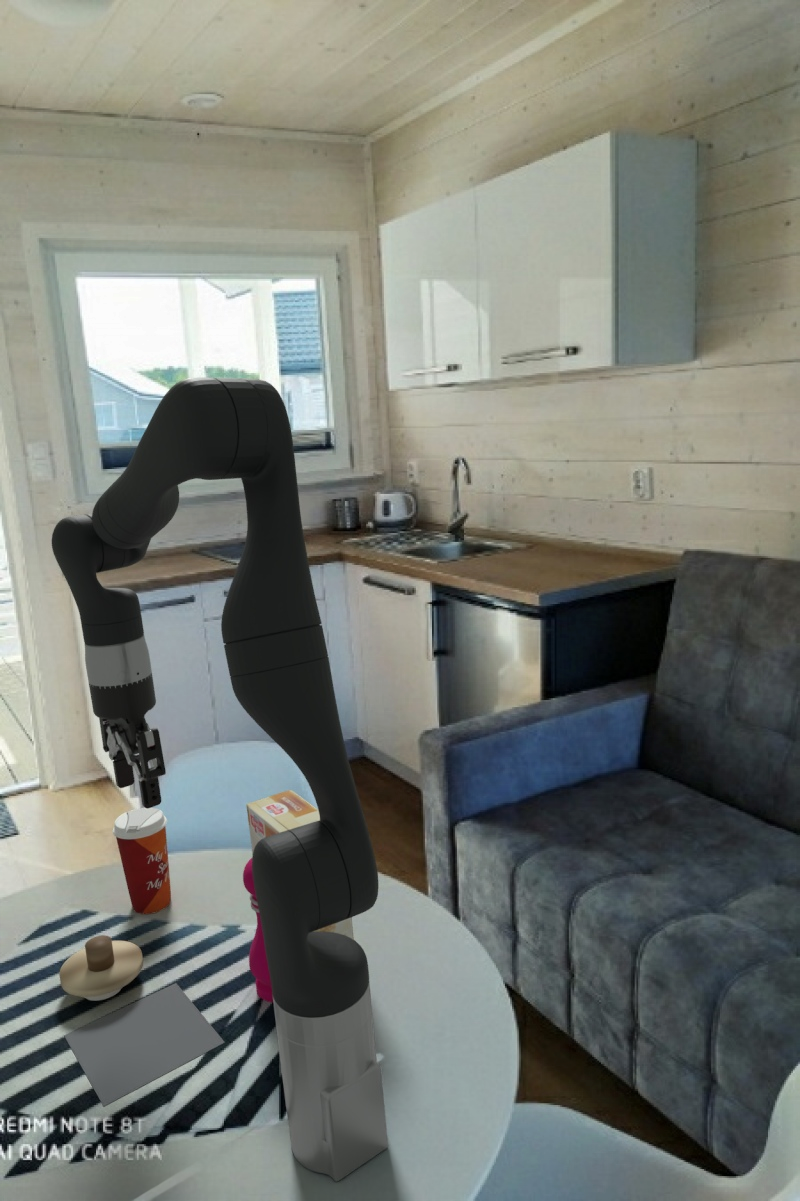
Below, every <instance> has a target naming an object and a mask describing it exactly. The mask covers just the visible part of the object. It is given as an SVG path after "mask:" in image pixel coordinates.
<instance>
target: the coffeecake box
mask: <svg viewBox="0 0 800 1201" xmlns="http://www.w3.org/2000/svg"><path fill="white" fill-rule="evenodd" d="M245 807H246V811H247V812H246V813H247V820H248V828H249V829H248V830H249V837H250V844H251V846H250V847H251V852H252V856H253V851H254V848H255V846H256V844H257V843H258V842H259V841H260V840H261V839H263V838H265V837H268V836H271V835H274V834H277V833H280V832H283V831H287V830H290V829H293V828H296V827H300V826H303V825H306V824H309V823H313V822H317V821H319V820H320V815H319V810H318V807H315V806H314V805H312V804H311V803H310V802H308V801H307V800H306V799H304V798H303V797H302V796H300V795H299V794H297V793H296V792H295V791H293V790H291V789H290V790H285V791H281V792H278V793H276V794H273V795H270V796H268V797H263V798H262V799H261V798H260V799H258V800H255V801H251V802H248V803H246V806H245ZM316 931H324V932H334V933H338V934H342V935H345V936H348V937H350V938H351V939H353V940H355V939H354V938H355V936H354V927H353V917H351V918H348V919H345V920H343V921H340V922H337V923H335V924H332V925H329V926H327V927H324V928H321V929H318V930H316Z"/></svg>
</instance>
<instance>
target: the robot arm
mask: <svg viewBox="0 0 800 1201" xmlns="http://www.w3.org/2000/svg"><path fill="white" fill-rule="evenodd" d="M195 479H199V480H206V481H215V480H217V481H218V480H233V479H234V480H235V479H241V482H242V486H243V491H244V496H245V502H246V503H245V505H246V507H245V508H246V518H247V520H246V521H247V525H246V527H247V531H246V538H245V543H244V548H243V550H242V553H241V556H240V558H239V562H238V564H237V566H236V567H237V568H236V570H235V573H234V576H233V578H232V581H231V584H230V585H229V586H230V587H229V589H228V593H227V595H226V598H225V602H224V606H223V609H222V614H221V623H220V626H221V635H222V643H223V644H224V645H223V648H224V653H225V657H226V658H225V659H226V662H227V667H228V672H229V677H230V682H231V687H232V691H233V694H234V696H235V697H236V698H235V699H237V701H238V702H239V704H240V705H241V707H242V709H244V711H245V712H246V714H248V715H249V717H250V718H251V719H252V720H253V721H254V722H255V723H256V724H257V725H258V727H260V728H261V730H263V731H264V733H266V735H267V736H269V737H270V739H272V740H273V741H274V742H275V743H276V745H278V746H279V747H280V748H281V749H282V750H283V751H284V752H285V754H287V755H288V757H290V759H291V760H292V762H294V764H295V766H296V767H297V768H298V769H299V771H300V772H301V773H302V775H303V776H304V778H305V779H306V783H307V784H308V786H309V787H310V790H311V792H312V795H313V797H314V800H315V803H316V806H317V809H318V810H319V815H320V820H319V821H317V822H313V823H309V824H306V825H303V826H300V827H296V828H293V829H290V830H287V831H283V832H280V833H277V834H274V835H271V836H268V837H265V838H263V839H261V840H260V841H259V842H258V843H257V844H256V846H255V848H254V851H253V855H252V856H251V858H252V874H253V881H254V888H255V893H256V898H257V903H258V908H259V914H260V919H261V925H262V930H263V937H264V944H265V951H266V957H267V963H268V968H269V973H270V979H271V986H272V994H273V1002H272V1003H273V1011H274V1018H275V1026H276V1034H277V1035H276V1036H277V1044H278V1053H279V1060H280V1069H281V1075H282V1084H283V1085H282V1086H283V1093H284V1100H285V1107H286V1108H285V1110H286V1116H287V1117H286V1118H287V1124H288V1130H289V1131H288V1132H289V1140H290V1147H291V1151H292V1153H293V1155H294V1157H295V1159H296V1160H297V1162H299V1164H301V1165H302V1166H303V1167H304V1168H306V1169H307V1170H309V1171H312V1172H315V1173H319V1174H324V1175H328V1176H329V1177H331V1179H333V1181H334V1182H338V1181H341V1180H342V1179H344V1178H345V1177H347V1176H348V1175H349V1174H351V1173H352V1172H354V1171H356V1170H357V1169H358V1168H359V1167H361V1166H363V1165H364V1164H365V1163H367V1162H368V1161H370V1160H371V1159H373V1158H374V1157H376V1156H378V1154H380V1153H382V1152H383V1151H384V1150H386V1149H388V1147H389V1141H388V1129H387V1119H386V1107H385V1096H384V1095H385V1094H384V1085H383V1075H382V1066H381V1064H379V1062H378V1060H377V1050H376V1041H375V1029H374V1018H373V1007H372V1006H373V1005H372V997H371V996H372V995H371V994H372V993H371V984H370V974H369V973H370V972H369V970H370V969H369V963H368V958H367V954H366V953H365V951H364V948H363V947H362V945H360V944H359V943H358V942H357V940H355V939H354V940H353V939H351V938H350V937H348V936H345V935H342V934H338V933H334V932H324V931H316V930H318V929H321V928H324V927H327V926H329V925H332V924H335V923H337V922H340V921H343V920H345V919H348V918H351V917H352V918H353V917H356V916H358V915H361V914H364V913H365V912H367V911H369V910H370V909H372V908H373V907H374V906H375V904H376V902H377V899H378V897H379V896H378V895H379V872H378V867H377V862H376V856H375V852H374V849H373V844H372V839H371V836H370V832H369V829H368V826H367V825H368V824H367V822H366V818H365V814H364V811H363V808H362V803H361V801H360V797H359V793H358V790H357V786H356V783H355V779H354V775H353V772H352V768H351V765H350V761H349V758H348V757H349V756H348V753H347V748H346V745H345V740H344V734H343V731H342V726H341V721H340V715H339V710H338V705H337V699H336V694H335V689H334V683H333V678H332V677H333V676H332V670H331V663H330V658H329V653H328V649H327V648H328V647H327V644H326V643H327V642H326V638H325V632H324V629H323V625H322V619H321V614H320V611H319V607H318V603H317V598H316V594H315V590H314V584H313V580H312V574H311V570H310V564H309V558H308V552H307V548H306V540H305V534H304V530H303V522H302V514H301V505H300V497H299V488H298V486H299V485H298V476H297V467H296V457H295V450H294V442H293V435H292V428H291V423H290V419H289V415H288V412H287V408H286V405H285V403H284V401H283V398H282V396H281V394H280V393H279V391H278V390H277V389H276V388H275V386H273V384H271V383H269V381H266V380H262V379H257V378H242V377H241V378H238V377H210V376H209V377H208V376H207V377H206V376H205V377H203V376H202V377H201V376H198V377H189V378H185V379H182V380H180V381H177V382H176V383H175V384H174V385H172V386H171V387H170V388H169V389H168V391H167V392H166V393H165V394H164V396H163V397H162V399H161V400H160V402H159V403H158V405H157V407H156V408H155V411H154V412H153V414H152V417H151V418H150V420H149V423H148V425H147V427H146V429H145V430H144V432H143V434H142V436H141V438H140V440H139V442H138V445H137V447H136V448H135V450H134V452H133V455H132V456H131V459H130V461H129V463H128V464H127V466H126V468H125V469H124V471H123V472H122V473H121V474H120V476H119V477H117V478H116V479H115V480H114V482H113V483H112V484H111V485H110V486H109V487H108V488H107V489H106V490H105V491H104V492H103V493H102V494H101V496H100V497H99V498H98V500H97V501H96V502H95V505H94V506H93V509H92V512H90V513H85V514H79V515H78V514H77V515H71V516H67V517H64V518H61V519H60V520H59V521H58V522H57V523H56V524H55V526H54V529H53V531H52V534H51V548H52V552H53V556H54V558H55V560H56V562H57V565H58V566H59V569H60V571H61V572H62V574H63V576H64V578H65V581H66V582H67V584H68V587H69V589H70V592H71V594H72V597H73V599H74V601H75V604H76V607H77V610H78V614H79V619H80V624H81V630H82V631H81V632H82V636H83V642H84V662H85V669H86V675H87V680H88V687H89V692H90V700H91V705H92V706H91V707H92V712H93V715H94V716H95V717H97V718H98V719H99V720H98V721H99V725H100V726H99V727H100V734H101V739H102V740H101V741H102V749H103V752H105V753H108V757H109V759H110V761H112V766H113V770H114V771H113V772H114V777H115V778H114V779H115V785H116V787H118V788H119V789H124V788H127V787H130V786H132V785H134V783H135V782H136V781H135V776H134V772H135V773H136V776H137V779H138V785H139V786H138V787H139V792H140V798H141V799H140V800H141V805H142V806H143V808H147V809H148V808H155V807H156V806H159V805H160V804H161V803H162V794H161V789H160V788H161V787H160V781H159V777H162V776H164V775H166V773H167V772H166V771H167V770H166V766H165V760H164V754H163V749H162V742H161V736H160V730H159V729H158V728H157V727H153V728H151V727H150V725H149V723H148V722H147V720H146V718H145V717H146V714H147V713H148V712H149V711H151V710H153V709H154V707H155V706H156V704H157V699H156V692H155V684H154V677H153V670H152V665H151V664H152V663H151V658H150V651H149V648H148V644H147V641H146V637H145V630H144V624H143V618H142V617H143V616H142V610H141V605H140V601H139V596H138V594H137V593H136V592H135V591H134V589H133V590H132V589H130V588H126V587H104V586H103V585H102V584H101V582H100V581H99V579H98V577H97V574H98V573H103V572H109V571H113V570H114V571H115V570H118V569H119V570H120V569H123V568H128V567H131V566H133V565H136V564H137V563H138V562H140V561H141V560H143V559H144V558H145V556H146V554H147V550H148V547H149V546H150V543H151V540H152V538H153V537H155V536H156V535H157V534H158V533H159V532H160V531H162V530H163V529H164V528H165V527H166V526H167V525H168V524H169V523H170V522H171V521H172V519H173V518H174V516H175V515H176V512H177V510H178V507H179V503H180V490H179V489H180V488H179V485H181V484H183V483H185V482H188V481H190V480H195ZM149 765H150V767H149ZM133 768H134V769H133Z"/></svg>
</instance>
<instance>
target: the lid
mask: <svg viewBox="0 0 800 1201" xmlns="http://www.w3.org/2000/svg"><path fill="white" fill-rule="evenodd" d="M142 952H143V951H142V950H141V948H140V947H139V946H138V945H136V944H134V943H133V942H130V941H127V940H112V938H111V936H109V935H97V936H94V937H92V938H90V939H88V940H87V941H86V942H85V943H84V947H83V948H82V949H80V950H78V951H76V952H74V953H73V954H72V955H70V956H69V957H68V958H67V960H66V961H64V963H63V964H62V966H61V967H60V969H59V974H58V975H59V981H60V982H59V983H60V986H61V988H62V989H63V991H65V993H67V994H69V995H71V996H75V997H82V998H84V997H93V996H99V995H104V994H107V993H110V992H113V991H115V990H118V989H120V988H121V989H123V987H125V986H127V985H129V984H130V983H131V982H132V981H134V979H135V978H137V977H138V975H139V974H140V972H142V969H143V966H144V959H143V953H142Z"/></svg>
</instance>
